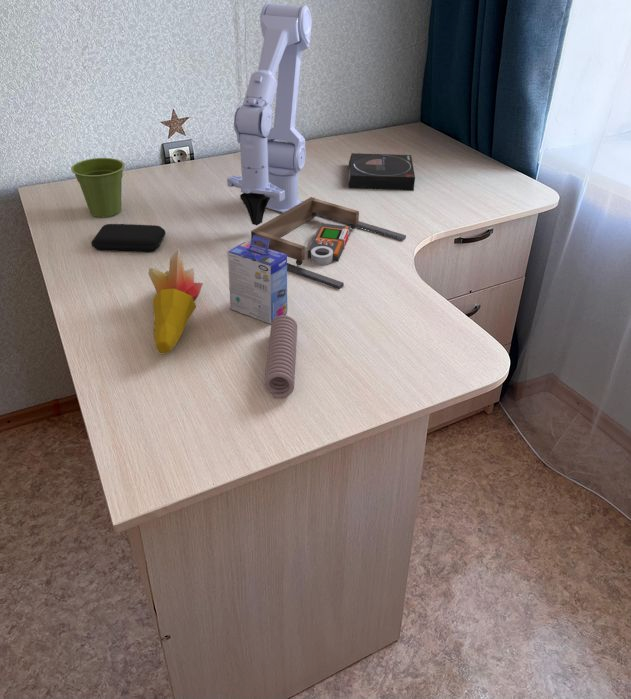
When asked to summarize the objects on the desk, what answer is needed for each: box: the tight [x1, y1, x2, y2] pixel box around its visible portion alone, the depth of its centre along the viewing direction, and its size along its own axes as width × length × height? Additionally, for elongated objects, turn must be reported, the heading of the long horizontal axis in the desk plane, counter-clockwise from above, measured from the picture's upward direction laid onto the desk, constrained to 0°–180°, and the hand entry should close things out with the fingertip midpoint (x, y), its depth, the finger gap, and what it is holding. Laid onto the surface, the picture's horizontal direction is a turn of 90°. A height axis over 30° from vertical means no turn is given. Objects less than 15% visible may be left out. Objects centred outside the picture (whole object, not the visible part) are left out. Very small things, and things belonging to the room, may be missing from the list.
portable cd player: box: [347, 152, 416, 192], centre depth 178 cm, size 16×17×4 cm
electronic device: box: [307, 222, 351, 266], centre depth 145 cm, size 7×3×15 cm
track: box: [287, 214, 407, 290], centre depth 146 cm, size 26×28×1 cm
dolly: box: [250, 196, 360, 266], centre depth 147 cm, size 13×23×4 cm, turn 145°
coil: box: [264, 314, 298, 399], centre depth 110 cm, size 5×5×18 cm
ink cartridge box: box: [227, 235, 288, 325], centre depth 120 cm, size 10×6×14 cm, turn 58°
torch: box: [147, 247, 204, 355], centre depth 119 cm, size 8×8×25 cm
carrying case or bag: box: [90, 223, 166, 253], centre depth 146 cm, size 11×3×15 cm
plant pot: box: [70, 157, 125, 218], centre depth 156 cm, size 12×12×11 cm
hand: (257, 223), depth 149 cm, fingers closed
